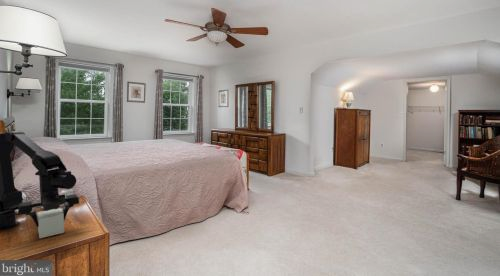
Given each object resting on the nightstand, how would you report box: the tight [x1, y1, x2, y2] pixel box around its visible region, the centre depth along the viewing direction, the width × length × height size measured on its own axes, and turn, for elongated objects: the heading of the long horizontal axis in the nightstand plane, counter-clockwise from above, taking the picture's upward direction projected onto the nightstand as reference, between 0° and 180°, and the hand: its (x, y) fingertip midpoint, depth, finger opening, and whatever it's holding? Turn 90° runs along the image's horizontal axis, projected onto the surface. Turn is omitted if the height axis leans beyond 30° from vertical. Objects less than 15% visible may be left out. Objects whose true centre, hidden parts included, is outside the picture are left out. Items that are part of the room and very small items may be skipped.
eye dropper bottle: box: [59, 188, 74, 208], centre depth 130 cm, size 4×6×12 cm
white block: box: [36, 207, 65, 239], centre depth 101 cm, size 8×8×8 cm
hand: (51, 224), depth 100 cm, fingers closed on white block, 8 cm apart
